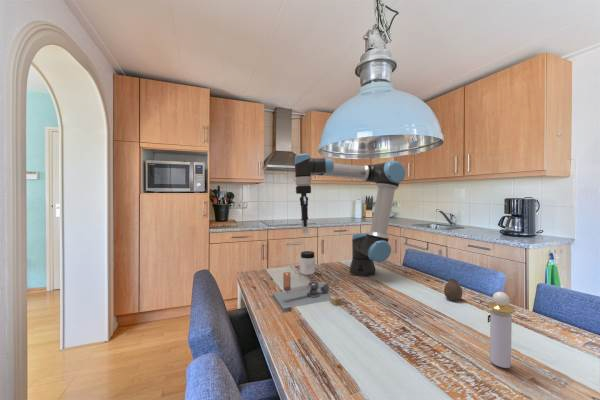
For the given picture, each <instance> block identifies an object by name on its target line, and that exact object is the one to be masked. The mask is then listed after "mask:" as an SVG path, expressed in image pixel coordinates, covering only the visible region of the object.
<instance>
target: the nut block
mask: <svg viewBox="0 0 600 400" xmlns="http://www.w3.org/2000/svg"><path fill="white" fill-rule="evenodd" d="M333 295H334V296H330V301H329V304H332V305H333V306H334V307H335V306H340V305H341V306H342V305H344V297H342V296H340V295H339V294H333Z"/></svg>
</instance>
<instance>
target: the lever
mask: <svg viewBox="0 0 600 400" xmlns="http://www.w3.org/2000/svg"><path fill="white" fill-rule="evenodd" d="M282 275H283V277H282V278H283V284H282V285H283V292H284V291H286V293H287V294H292V293H296V292H301V291H306V290H311V289H312V290H315V289H318V288H320V287H321V291H323V292H328V291H329V292H330V284H328V283H327V282H325V281H309V282H308V284H304V285H303V284H302V285H298V286H291V285H292V284H291V272H288V271H285V272H283V274H282Z"/></svg>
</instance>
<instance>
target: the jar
mask: <svg viewBox="0 0 600 400" xmlns="http://www.w3.org/2000/svg"><path fill="white" fill-rule="evenodd" d="M299 263H300V264H299V268H300V269H299V271H300V272H299V273H300V274H302V275H305V276H306V275H307V276H308V275H314V274H315V273H316V256H315V252H314V251H312V250H305V251H301V252H300V257H299Z"/></svg>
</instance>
